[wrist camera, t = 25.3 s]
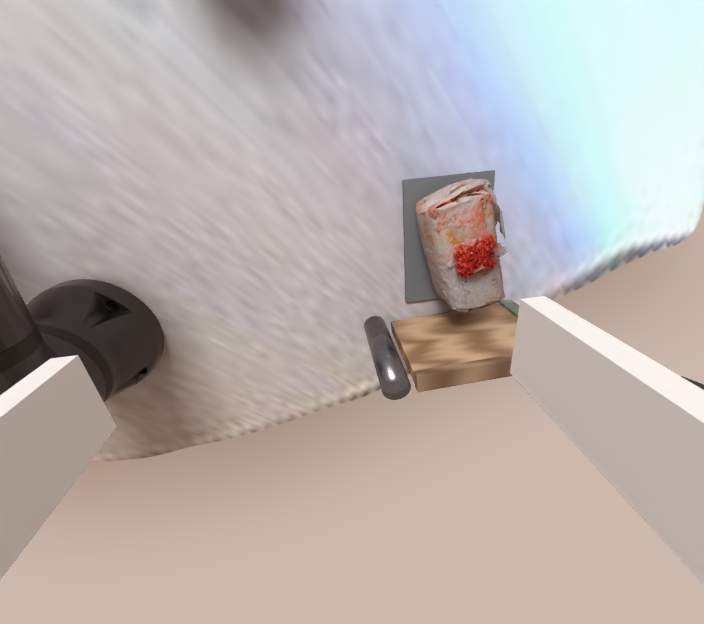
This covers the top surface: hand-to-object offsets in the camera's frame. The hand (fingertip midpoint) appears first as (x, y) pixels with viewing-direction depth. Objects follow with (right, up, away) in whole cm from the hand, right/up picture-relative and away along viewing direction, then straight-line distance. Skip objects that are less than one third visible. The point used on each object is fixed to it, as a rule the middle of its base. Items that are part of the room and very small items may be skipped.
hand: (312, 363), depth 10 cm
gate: (+15, +1, +35) cm, 38 cm away
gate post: (+4, 0, +36) cm, 36 cm away
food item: (+13, +11, +31) cm, 36 cm away
